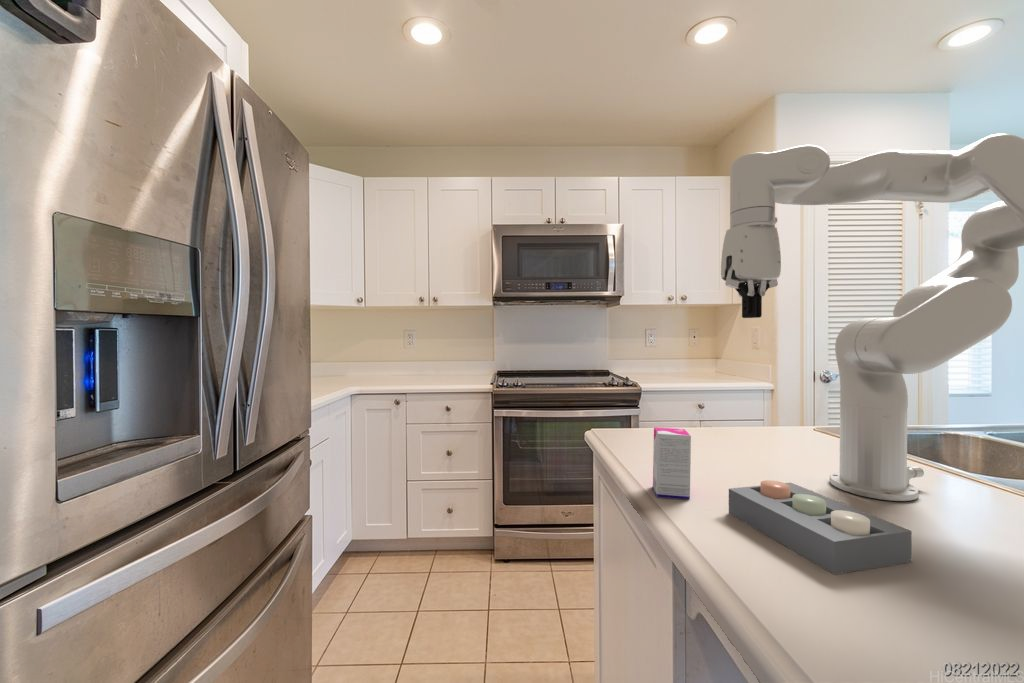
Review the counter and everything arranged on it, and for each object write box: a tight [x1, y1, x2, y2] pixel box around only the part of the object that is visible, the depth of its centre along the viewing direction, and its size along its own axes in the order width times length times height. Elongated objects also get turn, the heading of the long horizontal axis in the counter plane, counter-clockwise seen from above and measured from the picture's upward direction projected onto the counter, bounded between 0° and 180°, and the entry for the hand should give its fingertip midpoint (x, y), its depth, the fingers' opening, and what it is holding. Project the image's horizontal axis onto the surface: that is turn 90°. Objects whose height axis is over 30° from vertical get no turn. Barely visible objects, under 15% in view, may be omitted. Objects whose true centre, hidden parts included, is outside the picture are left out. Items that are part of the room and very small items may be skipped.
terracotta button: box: [760, 479, 790, 500], centre depth 68 cm, size 4×4×4 cm
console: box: [728, 482, 913, 575], centre depth 62 cm, size 12×18×4 cm, turn 12°
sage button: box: [792, 494, 826, 516], centre depth 62 cm, size 4×4×4 cm
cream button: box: [831, 510, 870, 536], centre depth 56 cm, size 4×4×4 cm
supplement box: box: [652, 427, 692, 500], centre depth 78 cm, size 6×6×12 cm
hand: (751, 317), depth 82 cm, fingers closed
